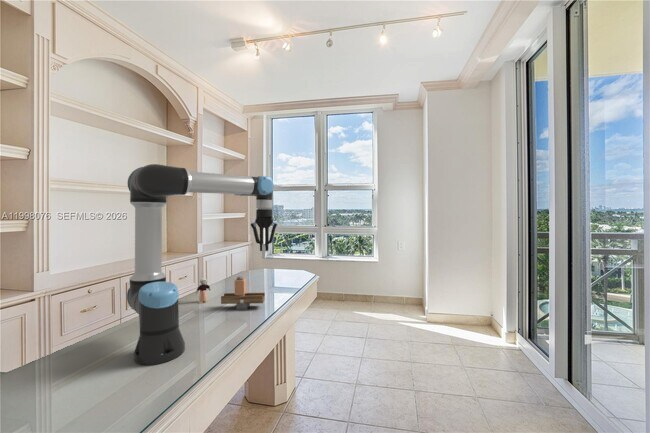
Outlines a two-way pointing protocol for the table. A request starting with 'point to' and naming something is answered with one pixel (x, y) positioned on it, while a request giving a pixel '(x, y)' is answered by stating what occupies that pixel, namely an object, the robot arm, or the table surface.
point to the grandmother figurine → (203, 290)
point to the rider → (240, 286)
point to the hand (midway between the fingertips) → (264, 257)
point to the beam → (242, 299)
